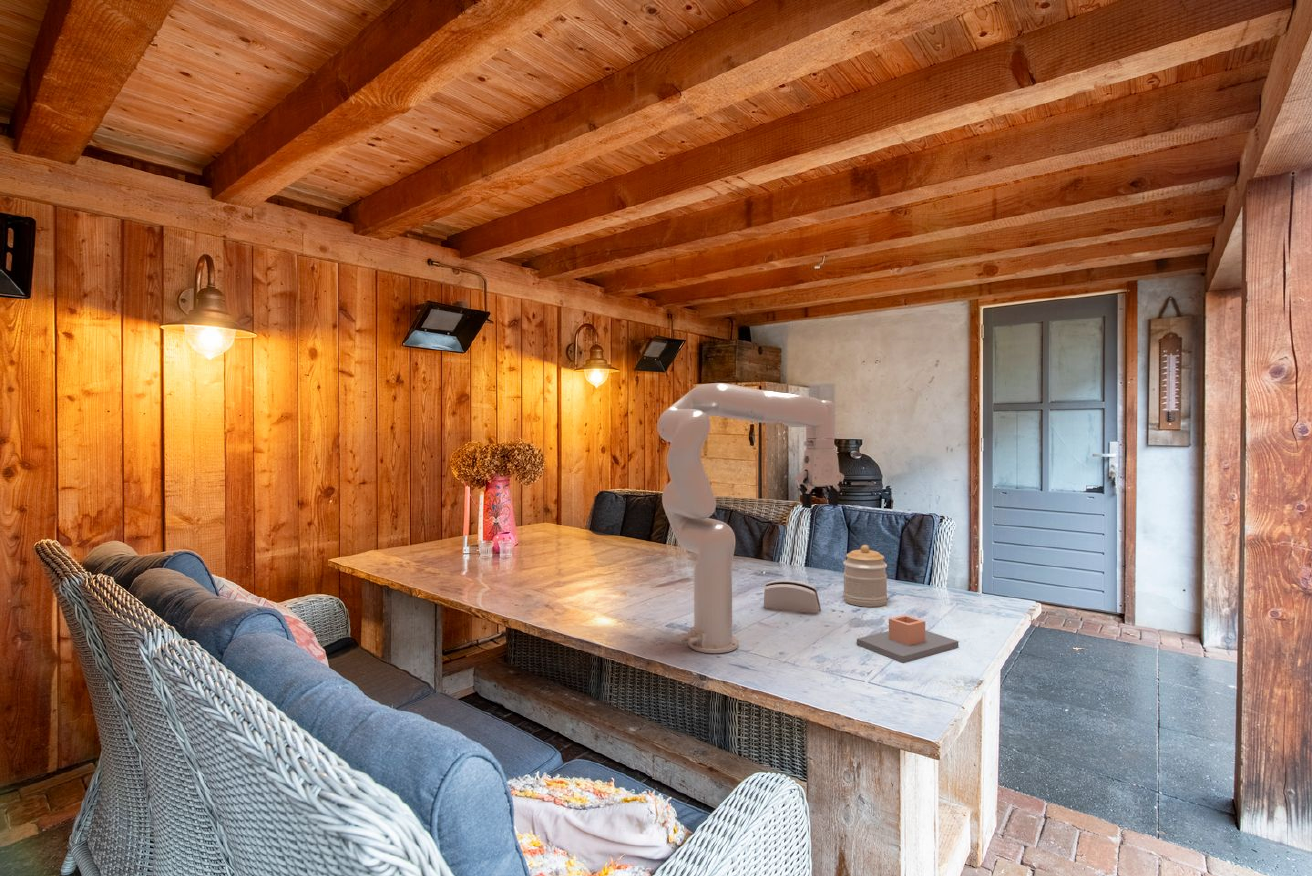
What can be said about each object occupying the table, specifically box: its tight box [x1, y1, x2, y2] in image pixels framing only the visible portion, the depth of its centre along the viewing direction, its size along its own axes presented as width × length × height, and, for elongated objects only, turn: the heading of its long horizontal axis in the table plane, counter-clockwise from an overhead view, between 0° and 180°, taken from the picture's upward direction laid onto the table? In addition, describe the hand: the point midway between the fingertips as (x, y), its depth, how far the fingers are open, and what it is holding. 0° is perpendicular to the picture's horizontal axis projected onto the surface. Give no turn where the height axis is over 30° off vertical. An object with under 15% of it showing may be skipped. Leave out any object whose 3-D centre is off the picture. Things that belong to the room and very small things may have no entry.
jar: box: [842, 544, 888, 608], centre depth 198 cm, size 13×13×18 cm
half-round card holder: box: [763, 579, 822, 615], centre depth 191 cm, size 17×5×10 cm, turn 66°
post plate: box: [856, 629, 959, 663], centre depth 159 cm, size 20×14×6 cm
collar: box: [888, 614, 926, 646], centre depth 159 cm, size 6×6×5 cm
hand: (820, 506), depth 178 cm, fingers open, 9 cm apart
